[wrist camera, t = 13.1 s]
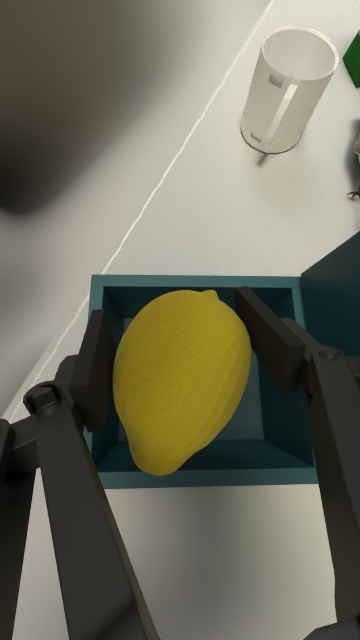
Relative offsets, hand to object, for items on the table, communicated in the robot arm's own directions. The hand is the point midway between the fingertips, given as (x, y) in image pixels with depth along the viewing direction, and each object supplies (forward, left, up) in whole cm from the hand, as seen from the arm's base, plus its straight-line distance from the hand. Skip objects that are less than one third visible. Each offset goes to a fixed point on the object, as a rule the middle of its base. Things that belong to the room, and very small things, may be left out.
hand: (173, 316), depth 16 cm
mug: (+14, +32, -14) cm, 37 cm away
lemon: (0, -3, -4) cm, 5 cm away
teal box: (+2, -3, -13) cm, 14 cm away
